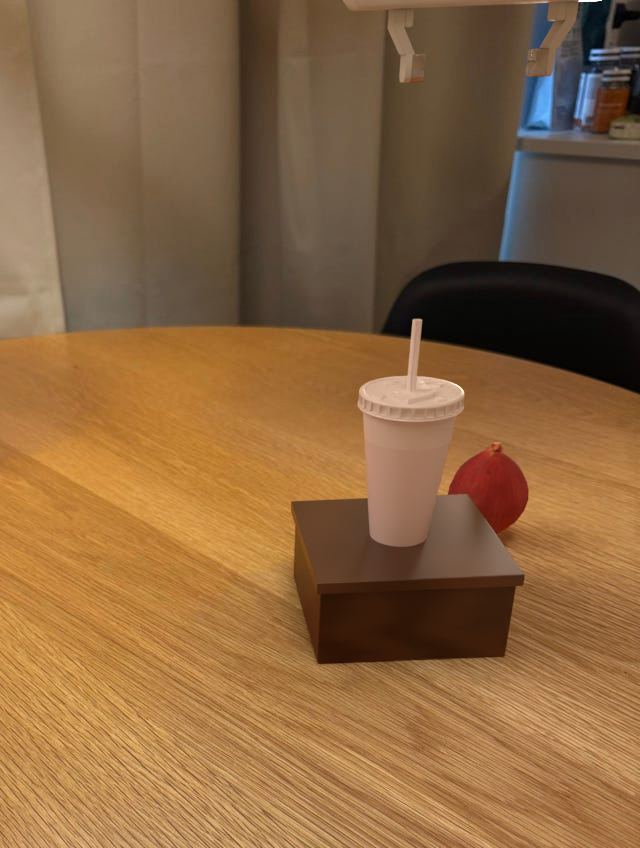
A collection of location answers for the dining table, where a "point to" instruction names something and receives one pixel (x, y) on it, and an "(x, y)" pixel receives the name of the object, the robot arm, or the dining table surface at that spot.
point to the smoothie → (406, 448)
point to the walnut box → (402, 584)
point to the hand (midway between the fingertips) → (474, 79)
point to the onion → (493, 486)
